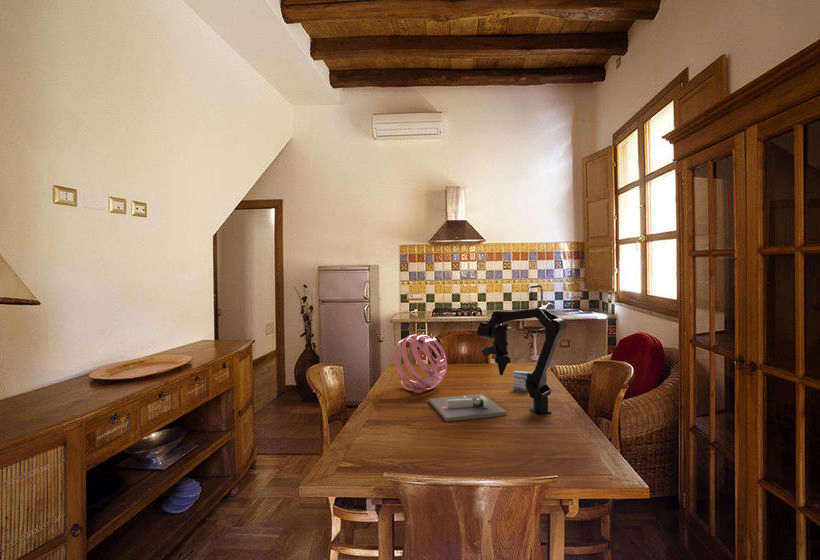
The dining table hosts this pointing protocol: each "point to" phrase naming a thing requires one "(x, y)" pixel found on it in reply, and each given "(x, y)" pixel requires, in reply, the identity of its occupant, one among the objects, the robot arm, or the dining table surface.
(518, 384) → the medicine box
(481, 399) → the latch key
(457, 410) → the latch plate
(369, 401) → the dining table surface
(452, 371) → the dining table surface
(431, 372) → the pink spiral sphere sculpture
